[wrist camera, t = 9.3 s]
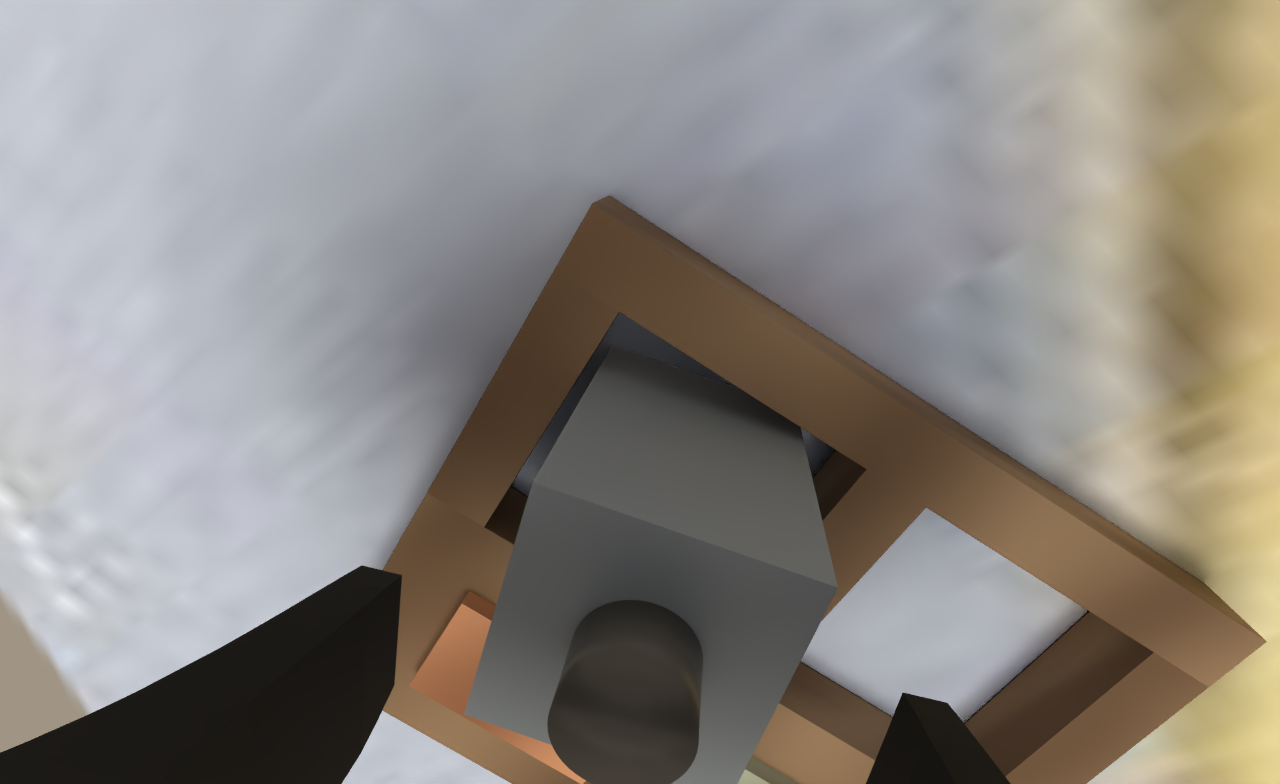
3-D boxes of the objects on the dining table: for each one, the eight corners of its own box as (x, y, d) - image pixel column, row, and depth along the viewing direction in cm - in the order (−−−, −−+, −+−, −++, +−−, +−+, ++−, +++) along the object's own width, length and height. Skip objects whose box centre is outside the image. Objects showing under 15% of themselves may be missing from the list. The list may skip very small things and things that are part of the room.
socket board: (1205, 584, 16) (1284, 658, 14) (836, 899, 21) (849, 992, 19) (609, 196, 15) (587, 205, 13) (360, 625, 20) (311, 690, 18)
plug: (795, 407, 16) (855, 662, 8) (728, 562, 18) (725, 899, 10) (612, 345, 16) (498, 539, 8) (561, 504, 18) (426, 795, 10)
